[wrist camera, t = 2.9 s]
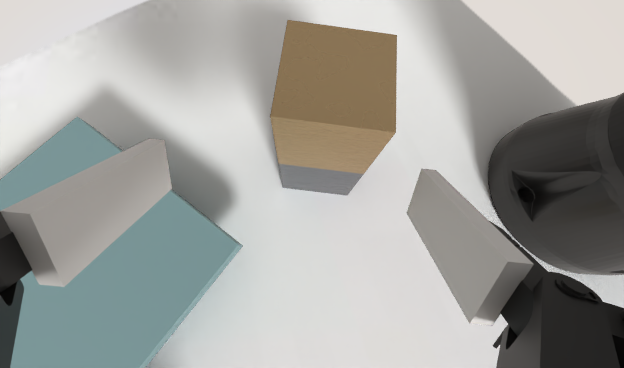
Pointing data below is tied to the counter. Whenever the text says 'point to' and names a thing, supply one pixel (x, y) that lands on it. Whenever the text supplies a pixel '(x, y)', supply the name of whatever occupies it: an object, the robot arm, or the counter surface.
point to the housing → (332, 105)
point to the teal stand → (113, 271)
